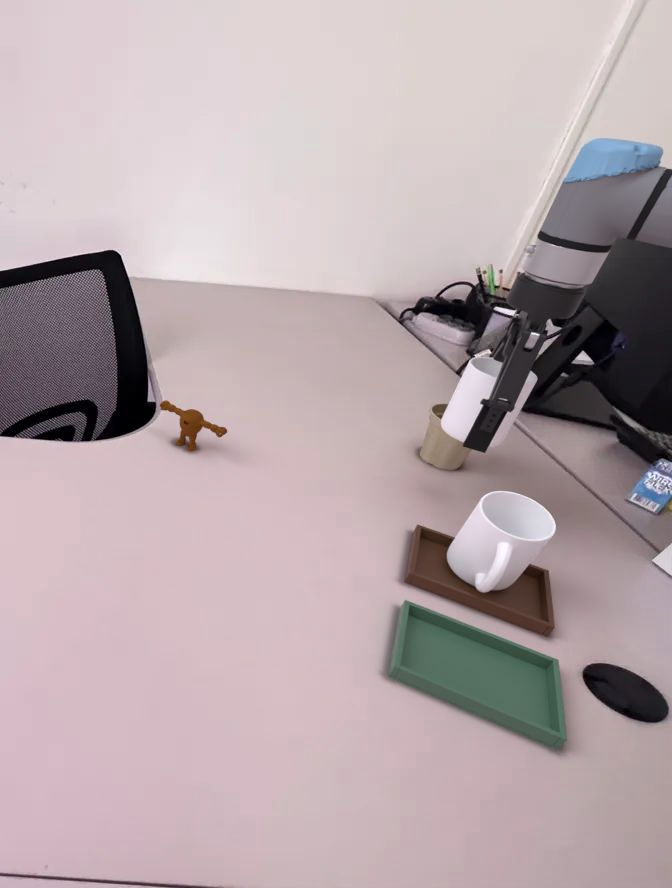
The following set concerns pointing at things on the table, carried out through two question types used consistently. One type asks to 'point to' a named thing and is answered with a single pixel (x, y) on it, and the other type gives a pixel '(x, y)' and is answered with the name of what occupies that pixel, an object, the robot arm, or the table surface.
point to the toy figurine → (191, 425)
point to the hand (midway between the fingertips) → (474, 429)
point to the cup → (470, 394)
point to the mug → (499, 540)
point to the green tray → (480, 673)
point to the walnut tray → (514, 604)
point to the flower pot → (441, 443)
